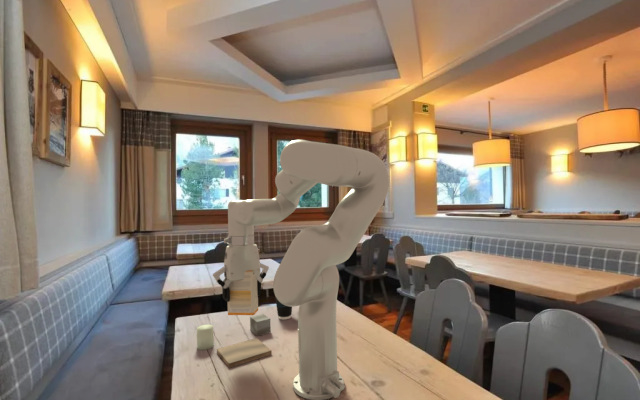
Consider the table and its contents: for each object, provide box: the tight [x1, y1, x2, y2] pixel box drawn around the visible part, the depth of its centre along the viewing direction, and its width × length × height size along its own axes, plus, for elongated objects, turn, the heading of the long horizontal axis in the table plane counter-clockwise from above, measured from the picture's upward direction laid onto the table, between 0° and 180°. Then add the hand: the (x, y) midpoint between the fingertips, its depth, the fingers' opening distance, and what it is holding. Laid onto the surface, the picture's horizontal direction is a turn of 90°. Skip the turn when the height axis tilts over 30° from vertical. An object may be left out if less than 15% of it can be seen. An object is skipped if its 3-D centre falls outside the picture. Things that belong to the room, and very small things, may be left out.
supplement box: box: [226, 270, 259, 316], centre depth 99 cm, size 8×5×13 cm, turn 83°
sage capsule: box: [196, 324, 215, 351], centre depth 104 cm, size 5×5×6 cm
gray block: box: [249, 313, 272, 337], centre depth 115 cm, size 6×5×5 cm
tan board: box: [216, 337, 273, 369], centre depth 99 cm, size 11×13×1 cm
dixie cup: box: [274, 295, 293, 320], centre depth 129 cm, size 8×8×11 cm
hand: (242, 297), depth 99 cm, fingers closed on supplement box, 9 cm apart
